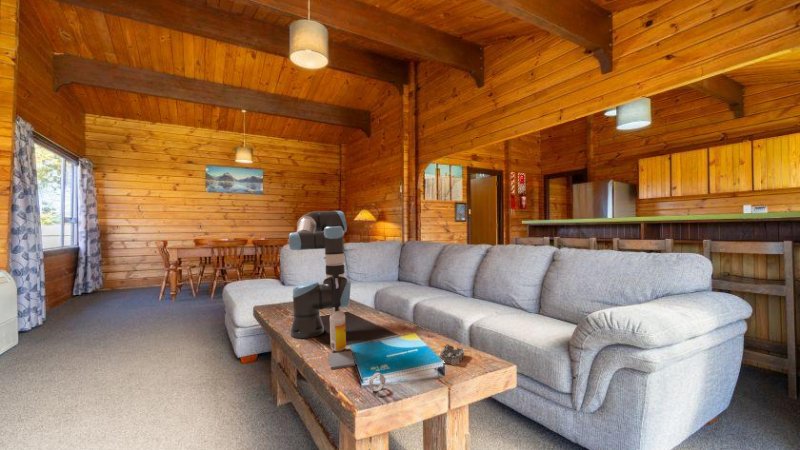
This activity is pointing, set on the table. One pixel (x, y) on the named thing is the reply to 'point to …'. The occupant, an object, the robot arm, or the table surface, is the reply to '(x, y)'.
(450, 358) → the egg carton
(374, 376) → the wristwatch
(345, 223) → the robot arm
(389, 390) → the table surface
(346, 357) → the mat
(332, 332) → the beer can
